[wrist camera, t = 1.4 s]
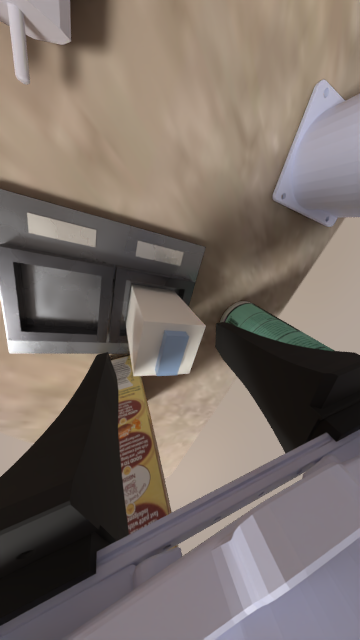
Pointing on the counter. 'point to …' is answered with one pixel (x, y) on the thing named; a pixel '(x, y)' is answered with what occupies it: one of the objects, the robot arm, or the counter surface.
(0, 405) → the counter surface
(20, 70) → the charger
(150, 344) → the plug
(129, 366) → the candy box
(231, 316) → the spray can
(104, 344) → the dark grey compartment tray
